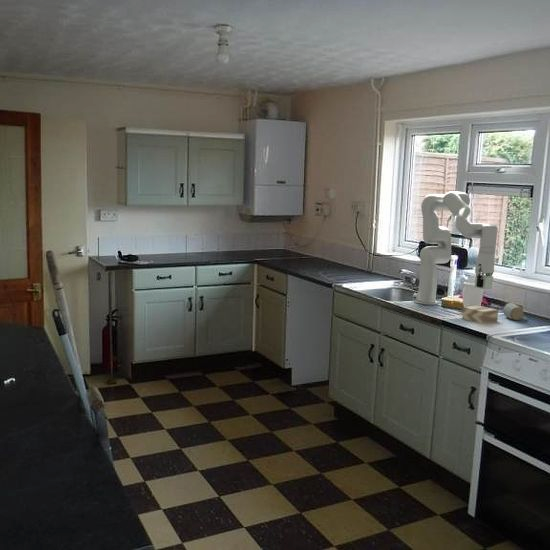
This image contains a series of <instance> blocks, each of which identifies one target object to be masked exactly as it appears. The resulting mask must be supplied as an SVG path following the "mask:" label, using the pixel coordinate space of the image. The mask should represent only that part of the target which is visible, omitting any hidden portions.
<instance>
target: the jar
mask: <svg viewBox="0 0 550 550" xmlns="http://www.w3.org/2000/svg"><path fill="white" fill-rule="evenodd" d="M474 286H475V281H464V282H463V289H462V305H463V307H468V306H476V305H478V306H482V301H483V298H484V289H481V288H475V287H474Z"/></svg>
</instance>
